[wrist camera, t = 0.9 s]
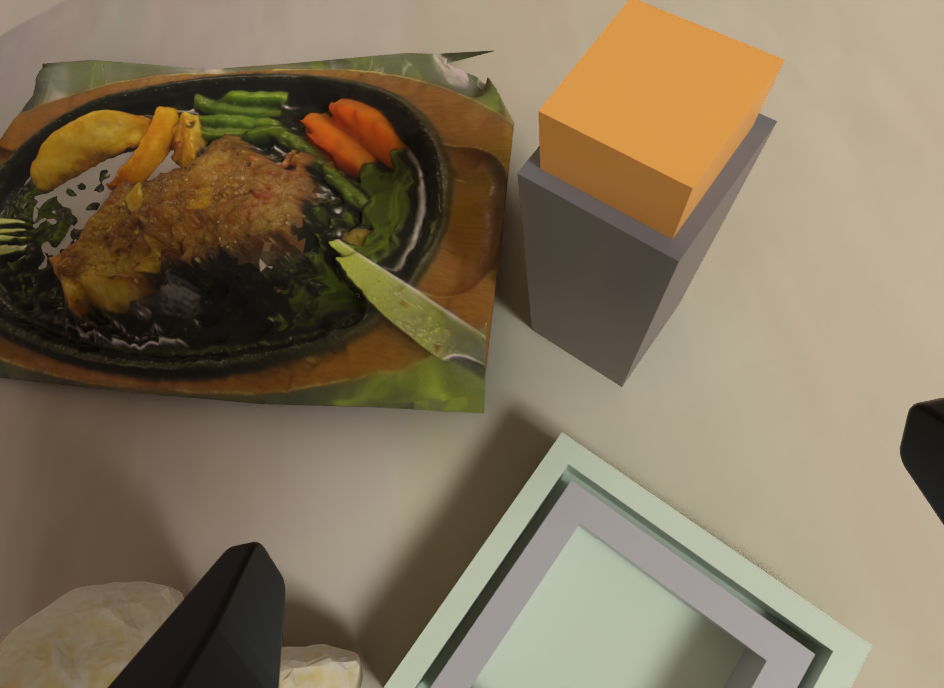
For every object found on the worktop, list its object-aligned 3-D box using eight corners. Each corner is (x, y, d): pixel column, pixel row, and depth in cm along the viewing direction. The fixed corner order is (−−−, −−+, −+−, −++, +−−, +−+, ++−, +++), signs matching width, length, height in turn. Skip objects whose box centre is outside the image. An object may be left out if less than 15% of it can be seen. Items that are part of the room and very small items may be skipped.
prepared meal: (-165, 351, 25) (-10, 23, 30) (-83, 372, 28) (44, 74, 33) (477, 424, 21) (526, 35, 26) (484, 438, 24) (527, 90, 30)
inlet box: (833, 633, 19) (874, 646, 17) (659, 952, 17) (678, 1019, 15) (560, 443, 23) (562, 431, 20) (387, 693, 21) (365, 713, 18)
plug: (679, 302, 24) (812, 54, 12) (621, 386, 23) (700, 213, 11) (589, 251, 25) (625, -21, 13) (531, 329, 24) (512, 116, 12)
